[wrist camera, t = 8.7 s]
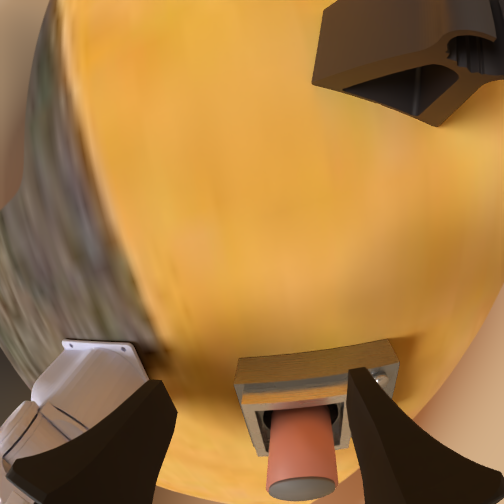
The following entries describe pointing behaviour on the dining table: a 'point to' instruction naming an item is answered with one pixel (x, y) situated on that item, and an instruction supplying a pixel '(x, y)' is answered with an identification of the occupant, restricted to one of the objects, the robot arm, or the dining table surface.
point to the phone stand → (411, 52)
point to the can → (301, 454)
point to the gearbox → (308, 385)
